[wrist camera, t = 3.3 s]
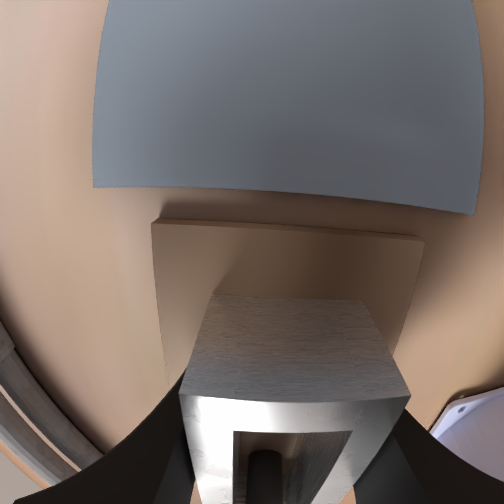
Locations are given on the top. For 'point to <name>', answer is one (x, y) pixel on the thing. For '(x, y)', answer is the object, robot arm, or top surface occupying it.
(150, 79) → the rubber mat
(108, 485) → the robot arm
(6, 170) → the top surface
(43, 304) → the top surface
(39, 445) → the metal rod assembly
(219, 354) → the steel link
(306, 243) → the post stand
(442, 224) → the top surface
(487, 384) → the top surface
